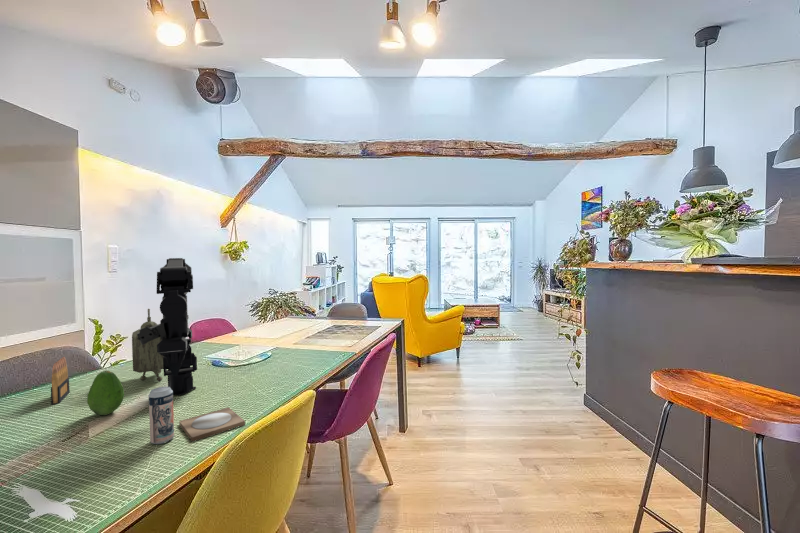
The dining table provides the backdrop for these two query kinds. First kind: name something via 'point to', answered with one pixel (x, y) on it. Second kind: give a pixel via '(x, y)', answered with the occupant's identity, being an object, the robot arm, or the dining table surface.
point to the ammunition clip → (59, 381)
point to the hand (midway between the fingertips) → (177, 370)
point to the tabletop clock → (146, 353)
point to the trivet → (211, 423)
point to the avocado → (105, 393)
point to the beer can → (161, 415)
